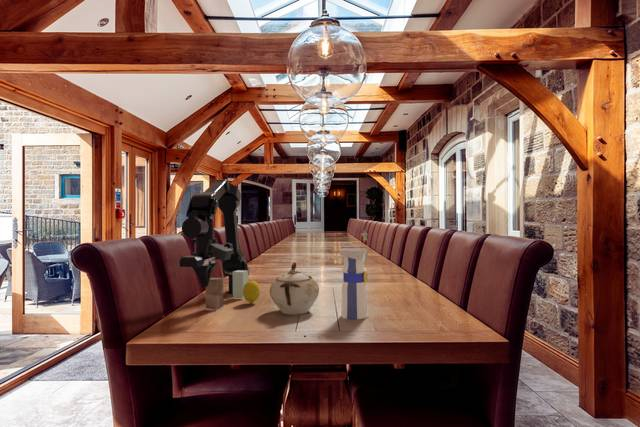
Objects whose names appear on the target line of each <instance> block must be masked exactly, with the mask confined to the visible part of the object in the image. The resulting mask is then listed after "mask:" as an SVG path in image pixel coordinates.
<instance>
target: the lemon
mask: <svg viewBox="0 0 640 427" xmlns="http://www.w3.org/2000/svg"><path fill="white" fill-rule="evenodd" d="M260 294H261V290H260V285H259V283H258V282H257V281H255V280H253V279H249V280H248V282H246V283H245V285H244V287H243V296H244V298H245V299H244V300H245V301H247V302H249V303H250V304H254V303H255V302H256V301H257V300H258V299H259V297H260Z"/></svg>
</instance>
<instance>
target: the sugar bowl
mask: <svg viewBox="0 0 640 427" xmlns="http://www.w3.org/2000/svg"><path fill="white" fill-rule="evenodd" d="M296 268H297V263H296V262H293V263H292V264H291V269H290V270H289V271H288V272H287V273H285V274H283V275H282V274H281V276H277V277H276V278H275V279H274V280H273V281H272V282H271V285H270V287H269V295H270V298H271V300H272V302H273V303H274V305H276V307H277V308H278V309H279V311H280V312H281V313H282V314H283V315H291V316H292V315H297V316H298V315H304V314H306V313H307V314H308V312H309V311H310V309H311V308H312V307H313V305H314V304H315V302H316V300H317V298H318V296H319V293H320V286H319V284H318V281H316V280H315V279H314V277H312V276H311V275H308V274H305V273H302V272H301V271H297V270H296Z"/></svg>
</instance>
